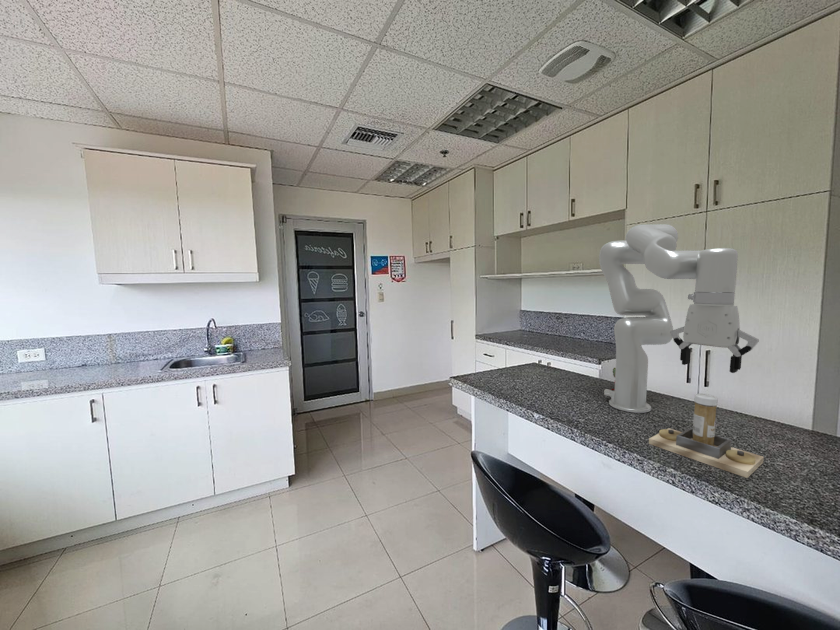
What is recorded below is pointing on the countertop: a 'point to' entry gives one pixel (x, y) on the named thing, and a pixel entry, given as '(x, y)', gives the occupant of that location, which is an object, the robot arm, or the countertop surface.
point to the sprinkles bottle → (704, 418)
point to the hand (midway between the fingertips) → (708, 367)
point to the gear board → (708, 451)
